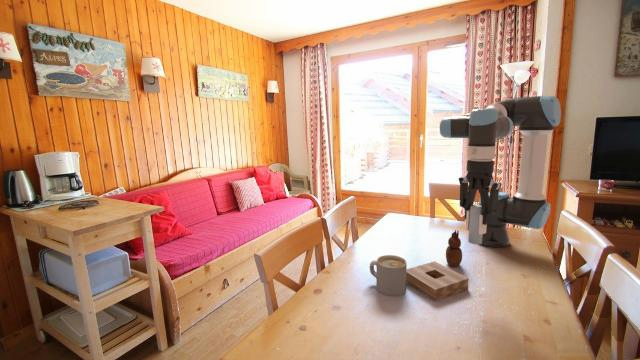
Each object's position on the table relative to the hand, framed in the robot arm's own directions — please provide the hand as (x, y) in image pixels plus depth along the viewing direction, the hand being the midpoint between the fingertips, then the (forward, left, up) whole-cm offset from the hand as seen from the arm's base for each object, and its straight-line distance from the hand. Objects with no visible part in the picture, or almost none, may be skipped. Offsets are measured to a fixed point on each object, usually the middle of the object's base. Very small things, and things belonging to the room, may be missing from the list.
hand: (475, 231), depth 101 cm
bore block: (+8, -8, -21) cm, 24 cm away
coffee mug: (+23, -15, -21) cm, 35 cm away
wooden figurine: (-10, -16, -21) cm, 29 cm away
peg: (0, 0, -4) cm, 4 cm away
